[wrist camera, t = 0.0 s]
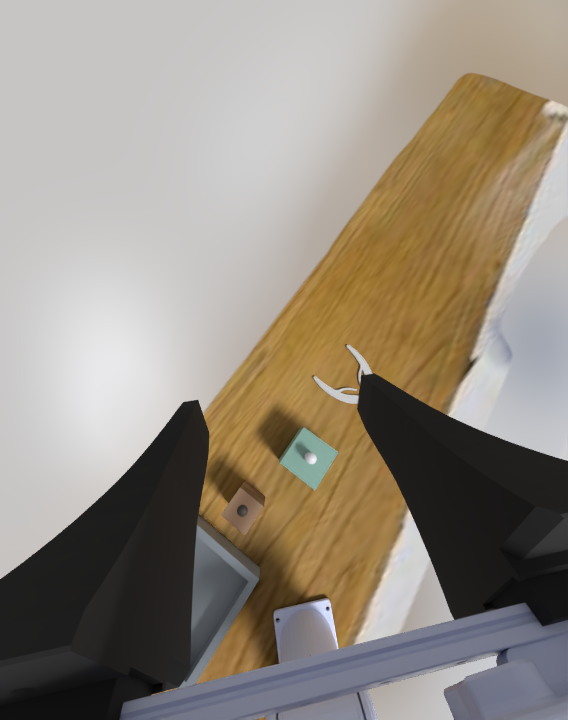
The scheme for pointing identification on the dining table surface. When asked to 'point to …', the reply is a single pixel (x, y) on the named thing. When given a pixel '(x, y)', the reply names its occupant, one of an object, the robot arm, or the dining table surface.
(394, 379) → the dining table surface
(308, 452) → the green block
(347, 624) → the dining table surface
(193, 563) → the robot arm
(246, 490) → the walnut block
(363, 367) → the pliers
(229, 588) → the tray
